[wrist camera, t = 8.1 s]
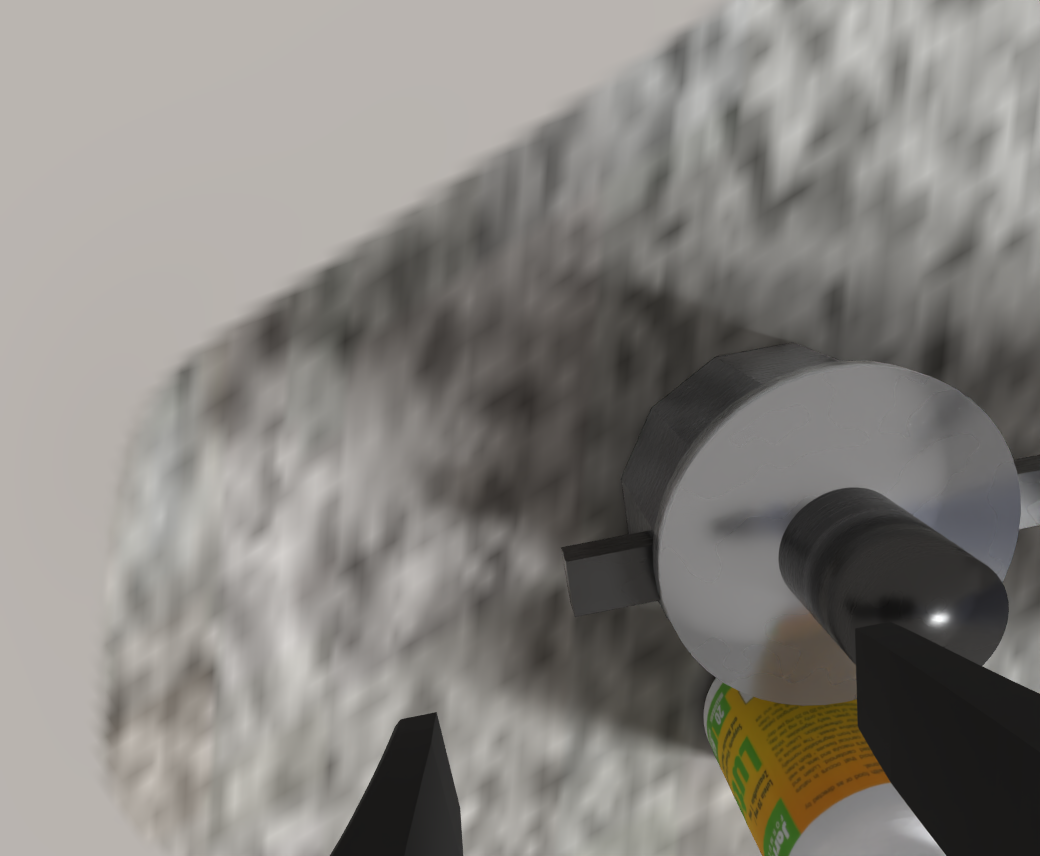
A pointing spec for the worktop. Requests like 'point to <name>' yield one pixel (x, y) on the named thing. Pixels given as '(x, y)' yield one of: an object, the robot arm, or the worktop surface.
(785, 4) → the worktop surface
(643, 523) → the pot
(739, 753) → the supplement bottle
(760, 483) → the lid
